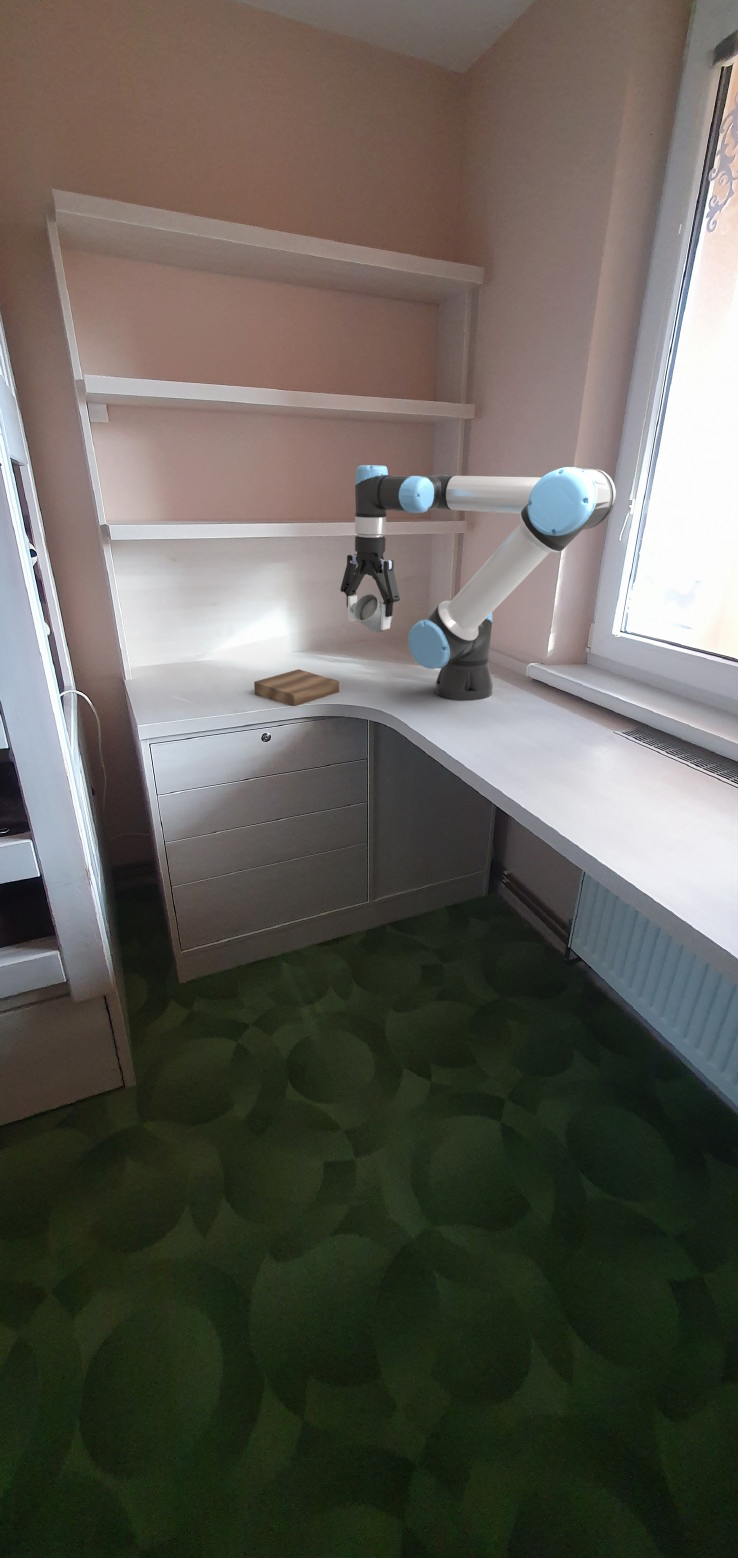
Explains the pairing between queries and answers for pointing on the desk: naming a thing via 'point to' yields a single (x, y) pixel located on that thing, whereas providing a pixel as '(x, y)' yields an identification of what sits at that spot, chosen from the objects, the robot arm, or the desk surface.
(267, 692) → the walnut block
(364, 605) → the ceramic mug
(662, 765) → the desk surface
